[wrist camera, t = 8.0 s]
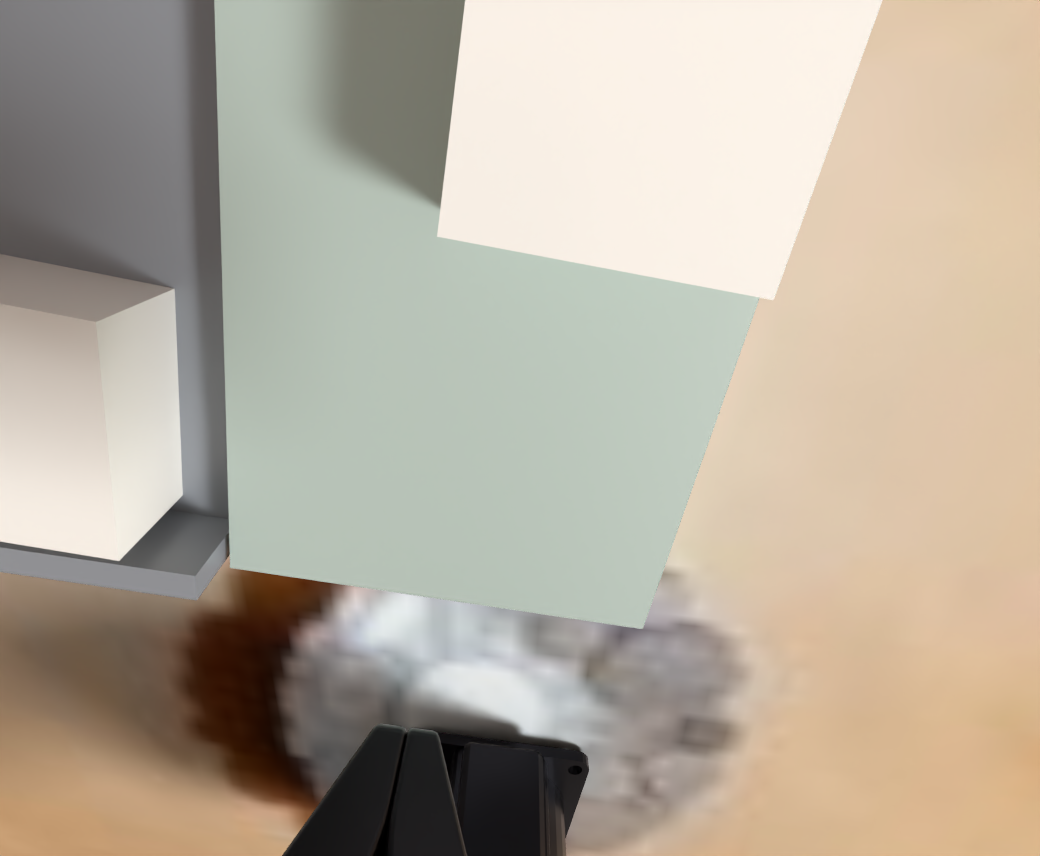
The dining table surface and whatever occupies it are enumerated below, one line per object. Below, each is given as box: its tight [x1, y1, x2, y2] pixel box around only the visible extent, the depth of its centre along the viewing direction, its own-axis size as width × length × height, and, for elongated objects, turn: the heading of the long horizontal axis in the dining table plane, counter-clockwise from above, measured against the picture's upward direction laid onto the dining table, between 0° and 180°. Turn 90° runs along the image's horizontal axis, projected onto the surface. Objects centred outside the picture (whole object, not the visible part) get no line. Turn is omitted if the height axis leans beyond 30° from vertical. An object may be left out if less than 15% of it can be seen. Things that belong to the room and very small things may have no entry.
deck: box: [214, 0, 759, 629], centre depth 14 cm, size 19×12×2 cm, turn 170°
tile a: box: [0, 254, 183, 561], centre depth 15 cm, size 6×6×3 cm
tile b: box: [437, 0, 882, 300], centre depth 11 cm, size 6×6×3 cm
